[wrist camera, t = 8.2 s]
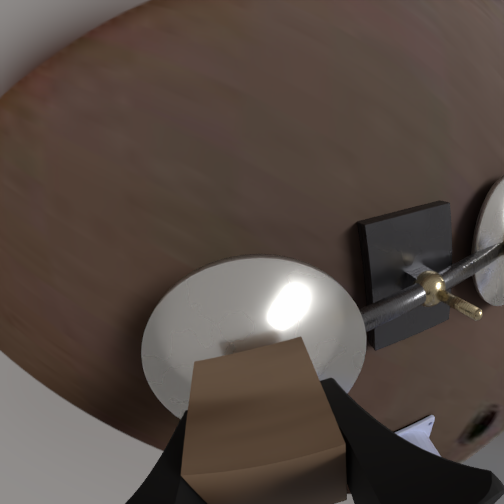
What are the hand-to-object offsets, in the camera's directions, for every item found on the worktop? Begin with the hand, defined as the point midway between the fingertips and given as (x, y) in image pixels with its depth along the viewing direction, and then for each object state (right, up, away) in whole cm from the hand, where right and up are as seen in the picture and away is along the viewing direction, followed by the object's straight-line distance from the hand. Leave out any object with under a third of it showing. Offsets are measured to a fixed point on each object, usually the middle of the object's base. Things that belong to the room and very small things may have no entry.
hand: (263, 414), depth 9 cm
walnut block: (0, 0, +1) cm, 2 cm away
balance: (+9, +4, +7) cm, 12 cm away
